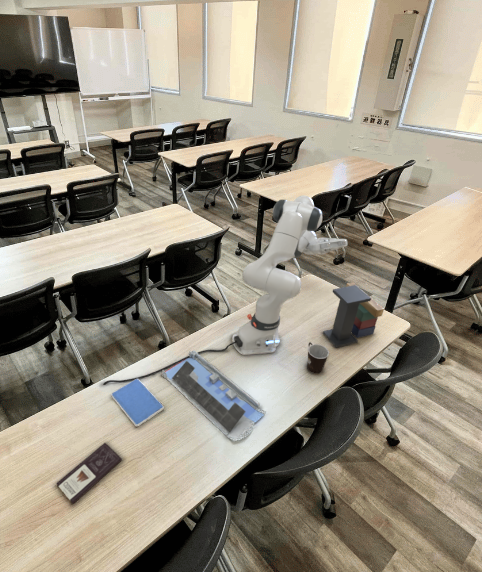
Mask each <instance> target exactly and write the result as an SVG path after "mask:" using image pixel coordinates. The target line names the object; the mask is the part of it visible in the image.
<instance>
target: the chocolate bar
mask: <svg viewBox="0 0 482 572" xmlns="http://www.w3.org/2000/svg"><path fill="white" fill-rule="evenodd" d="M122 461H123V458H121V456H120V455H118V454H117V452H116V451H114V450H113V449H112V447H111V446H110V445H108V444H107V443H106V442H104V443H103V444H102V445H100V446H99V447H98V448H97V449H96V450H94V451H93V452H92V453H91V454H90V455H88V456H87V457H86V458H85V459H84V460H83V461H81V462H80V463H78V465H76V466H75V467H74V468H73V469H71V470H70V471H69V472H68V473H67V474H66V475H65V476H63V477H61V479H59V480H58V481H57V482H56V486H57V487H58V488H59V489H60V490H61V493H63V494H64V495H65V497H66V498H67V499H68V501H70V503H71V504H72V505H75V503H77V502H78V501H79V500H80V499H81V498H82V497H83V496H84V495H85V494H86V493H88V492H89V491H90V490H91V489H92V488H93V487H95V485H96V484H98V483H99V482H100V481H101V480H102V479H103V478H104V477H105V476H106V475H107V474H108V473H110V472H111V471H112V470H114V468H116V467H117V466H118V465H119V464H120V463H121V462H122Z"/></svg>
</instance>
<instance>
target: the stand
mask: <svg viewBox="0 0 482 572" xmlns="http://www.w3.org/2000/svg"><path fill="white" fill-rule="evenodd" d="M356 285H357V284H356ZM356 285H353V286H348V287H346V286H344V287H338V288H337V287H336V288H332V293H333V294H334V295H335V296H336V298H338V299H339V302H338V305H337V309H336V313H335V318H334V321H333V325H332V328H331V329H326V330H323V331H322V334H323V336H324V337H325V338H326V339H327V340H328V341H329V342H330V344H331V345H332V346H333V347H334V348H335V349H339V348H342V347H347V346H351V345H355V344H358V343H359V340H358V338H356V337H355V336H354V335H353V334H352V333H351V332H352V328H353V325H354V321H355V318H356V314H357V311H358V307H359V304H360V303H364V302H368V301H370V300H371V298H372V297H371V296H370V295H369V294H367V293H366V292H365V291H364V290H363V289H361V287H359V286H358V285H357V286H358V287H357V286H356ZM362 290H363V291H364V292H365V293H364V292H363V291H362ZM369 296H370V297H371V298H370V297H369Z"/></svg>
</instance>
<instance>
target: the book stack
mask: <svg viewBox="0 0 482 572" xmlns="http://www.w3.org/2000/svg"><path fill="white" fill-rule="evenodd" d="M378 318H379V317H374V316H373V315H372V314H371V313H370V312H369V311H368V310H367V309H365V308H364V307H363V306H362V305H361V304H359V307H358V311H357V314H356V318H355V321H354V325H353V328H352V332H351V334H352V335H353V336H354V337H355V338H356V339H359V338H363V337H368V336H372V335H374V333H375V330H376V327H377V326H376V324H377V322H378Z"/></svg>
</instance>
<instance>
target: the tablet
mask: <svg viewBox="0 0 482 572" xmlns="http://www.w3.org/2000/svg"><path fill="white" fill-rule="evenodd" d="M110 397H111V398H112V400H113V401H115V403H116V404H117V405H118V407H119V408H120V409H121V410H122V411H123V413H124V414H125V415H126V417H127V418H128V419H129V420H130V422H131V423H132V424H133V425H134V426H135V427H136V428H137V427H140V426H141V425H144V424H145V423H146V422H148V421H149V420H151V419H153V417H155V416H157V415H158V414H159V413H161V411H163V410H164V409H165V406H164V405H163V403H161V402H160V400H159V399H158V398H157V397H156V396H155V395H154V394H153V393H152V392H151V390H150V389H149V388H148V387H147V385H145V384H144V383H143V382H142V381H141V380H140V379H135V380H132V381H129V382H128V383H126V384H125V385H123V386H122V387H120V388H118V389H116V390H114V391H113V392H111V394H110Z"/></svg>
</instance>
